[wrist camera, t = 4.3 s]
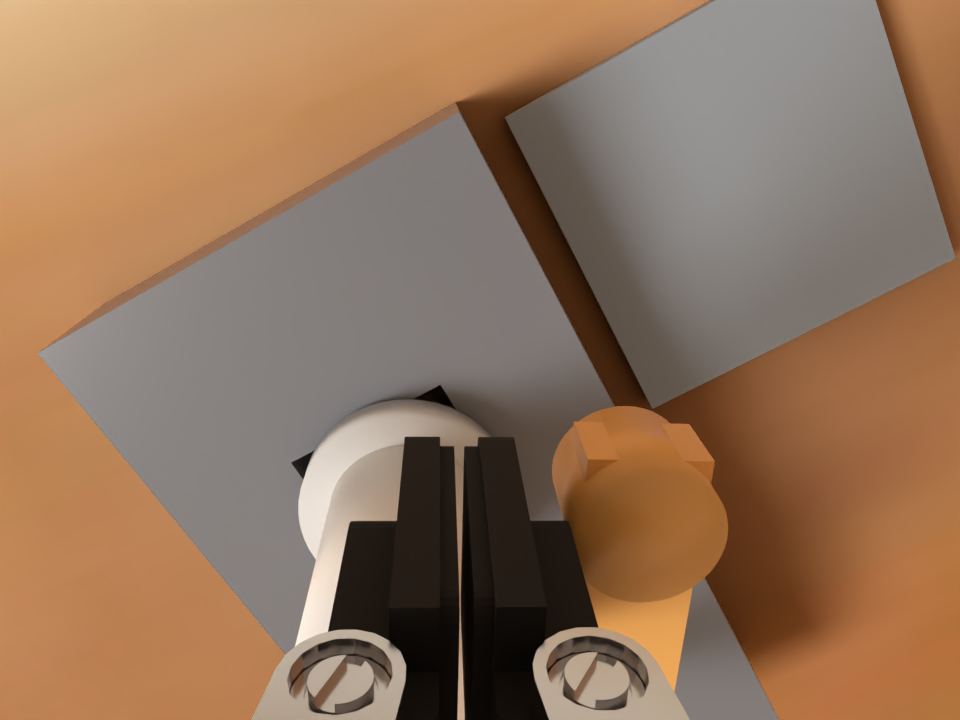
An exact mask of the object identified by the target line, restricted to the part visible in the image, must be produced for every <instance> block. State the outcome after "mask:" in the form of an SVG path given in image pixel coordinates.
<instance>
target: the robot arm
mask: <svg viewBox="0 0 960 720" xmlns="http://www.w3.org/2000/svg"><path fill="white" fill-rule="evenodd" d="M459 620H460V608H459V570H458V541H457V512H456V484H455V455H454V446H440V437H405V439H404V450H403V460H402V471H401V481H400V492H399V502H398V513H397V521H351V522H350V524H349V527H348V532H347V537H346V542H345V547H344V552H343V557H342V563H341V568H340V573H339V578H338V583H337V588H336V593H335V598H334V603H333V608H332V613H331V618H330V623H329V629H328V632H326V633H321V634H318V635H316V636H313V637H311V638H309V639H307V640H305V641H303V642H301V643H299V644H298V645H297V646H296V647H294V648H293V649H292V650H290V651H289V652H288V653H287V654H286V655H285V656H284V658H283V659H282V661H281V662H280V663H279V665H278V666H277V668H276V670H275V672H274V674H273V676H272V678H271V680H270V682H269V684H268V686H267V688H266V691H265V693H264V695H263V697H262V699H261V701H260V703H259V705H258V707H257V709H256V712H255V714H254V716H253V718H252V720H457V714H458V670H459ZM461 634H462V660H463V687H464V714H465V720H690V719H689V717H688V715H687V714H686V712H685V710H684V708H683V707H682V705H681V703H680V701H679V699H678V698H677V696H676V694H675V692H674V691H673V689H672V687H671V685H670V684H669V682H668V680H667V678H666V677H665V675H664V673H663V671H662V669H661V668H660V666H659V664H658V663H657V661H656V660H655V659H654V658H653V656H652V655H651V654H650V653H649V651H648V650H647V649H646V648H644V647H643V646H641V645H640V644H639V643H637V642H636V641H635V640H633V639H632V638H629V637H627V636H625V635H622V634H620V633H618V632H615V631H611V630H606V629H602V628H599V627H598V624H597V620H596V617H595V613H594V609H593V606H592V602H591V599H590V595H589V591H588V588H587V584H586V581H585V577H584V574H583V570H582V566H581V563H580V559H579V556H578V552H577V548H576V545H575V541H574V538H573V534H572V530H571V527H570V525H569V522H568V521H530V516H529V511H528V506H527V501H526V496H525V491H524V486H523V481H522V476H521V470H520V465H519V460H518V455H517V450H516V445H515V440H514V437H478V444H477V446H464V473H463V516H462V560H461Z"/></svg>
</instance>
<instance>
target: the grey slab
mask: <svg viewBox="0 0 960 720" xmlns="http://www.w3.org/2000/svg"><path fill="white" fill-rule="evenodd" d="M38 354H39V355H40V357H41V358H42V359H43V360H44V362H45V363H46V364H47V365H48V366H49V368H50V369H51V370H52V371H53V372H54V374H55V375H56V376H57V377H58V379H59V380H60V381H61V382H62V383H63V385H64V386H65V387H66V388H67V389H68V391H69V392H70V393H71V394H72V396H73V397H74V398H75V399H76V400H77V402H78V403H79V404H80V405H81V407H82V408H83V409H84V410H85V411H86V413H87V414H88V415H89V416H90V417H91V419H92V420H93V421H94V422H95V424H96V425H97V426H98V427H99V428H100V430H101V431H102V432H103V433H104V435H105V436H106V437H107V438H108V439H109V441H110V442H111V443H112V444H113V445H114V447H115V448H116V449H117V450H118V452H119V453H120V454H121V455H122V456H123V458H124V459H125V460H126V461H127V463H128V464H129V465H130V466H131V467H132V469H133V470H134V471H135V472H136V473H137V475H138V476H139V477H140V478H141V480H142V481H143V482H144V483H145V484H146V486H147V487H148V488H149V489H150V490H151V492H152V493H153V494H154V495H155V497H156V498H157V499H158V500H159V501H160V503H161V504H162V505H163V506H164V508H165V509H166V510H167V511H168V512H169V514H170V515H171V516H172V517H173V518H174V520H175V521H176V522H177V523H178V525H179V526H180V527H181V528H182V529H183V531H184V532H185V533H186V534H187V536H188V537H189V538H190V539H191V540H192V542H193V543H194V544H195V545H196V546H197V548H198V549H199V550H200V551H201V553H202V554H203V555H204V556H205V557H206V559H207V560H208V561H209V562H210V563H211V565H212V566H213V567H214V568H215V570H216V571H217V572H218V573H219V574H220V576H221V577H222V578H223V579H224V581H225V582H226V583H227V584H228V585H229V587H230V588H231V589H232V590H233V591H234V593H235V594H236V595H237V596H238V598H239V599H240V600H241V601H242V602H243V604H244V605H245V606H246V607H247V609H248V610H249V611H250V612H251V613H252V615H253V616H254V617H255V618H256V619H257V621H258V622H259V623H260V624H261V626H262V627H263V628H264V629H265V630H266V632H267V633H268V634H269V635H270V637H271V638H272V639H273V640H274V641H275V643H276V644H277V645H278V646H279V647H280V649H281V650H282V651H283V652H284V654H285V655H286V654H287V653H288V652H289V651H290V650H292V649H293V648H294V647H295V644H296V640H297V636H298V632H299V628H300V624H301V620H302V616H303V611H304V607H305V603H306V599H307V595H308V591H309V587H310V583H311V578H312V574H313V570H314V566H315V562H316V559H315V558H314V556H313V555H312V553H311V552H310V550H309V548H308V546H307V544H306V542H305V540H304V538H303V534H302V531H301V528H300V522H299V515H298V501H299V495H300V489H301V486H302V483H303V480H304V477H305V473H306V470H307V467H308V464H309V461H310V458H311V456H312V454H313V452H314V450H315V448H316V447H317V445H318V444H319V442H320V441H321V440H322V438H323V437H324V436H325V435H326V434H327V433H328V431H329V430H330V429H331V428H332V427H333V426H335V425H336V424H337V423H338V422H340V421H341V420H342V419H344V418H345V417H347V416H349V415H350V414H352V413H354V412H356V411H358V410H360V409H362V408H365V407H367V406H370V405H373V404H377V403H380V402H386V401H391V400H404V399H411V400H412V399H414V398H416V397H418V396H420V395H422V394H424V393H426V392H428V391H429V390H431V389H433V388H435V387H437V386H439V385H441V386H442V388H443V389H444V391H445V393H446V394H447V396H448V397H449V399H450V401H451V402H452V404H453V406H454V407H455V409H456V410H457V411H459V412H461V413H463V414H465V415H466V416H468V417H470V418H471V419H473V420H474V421H475V422H477V423H478V424H479V425H480V426H482V427H483V428H484V429H485V430H486V431H487V432H488V433H489V435H490V436H491V437H514V440H515V445H516V450H517V455H518V460H519V465H520V470H521V476H522V481H523V486H524V491H525V496H526V501H527V506H528V511H529V516H530V521H563V517H562V513H561V509H560V506H559V502H558V498H557V495H556V491H555V487H554V484H553V478H552V464H553V458H554V455H555V452H556V449H557V447H558V445H559V443H560V441H561V440H562V438H563V437H564V435H565V434H566V433H567V432H568V431H569V429H571V428H572V427H573V425H574V422H579V421H580V420H581V419H583V418H584V417H586V416H588V415H590V414H592V413H594V412H597V411H599V410H602V409H606V408H610V407H615V405H614V403H613V401H612V399H611V397H610V395H609V394H608V392H607V390H606V388H605V386H604V384H603V382H602V380H601V378H600V376H599V375H598V373H597V371H596V369H595V367H594V365H593V363H592V361H591V359H590V357H589V356H588V354H587V352H586V350H585V348H584V346H583V344H582V342H581V340H580V338H579V336H578V335H577V333H576V331H575V329H574V327H573V325H572V323H571V321H570V319H569V317H568V316H567V314H566V312H565V310H564V308H563V306H562V304H561V302H560V300H559V298H558V297H557V295H556V293H555V291H554V289H553V287H552V285H551V283H550V281H549V279H548V278H547V276H546V274H545V272H544V270H543V268H542V266H541V264H540V262H539V260H538V258H537V257H536V255H535V253H534V251H533V249H532V247H531V245H530V243H529V241H528V239H527V238H526V236H525V234H524V232H523V230H522V228H521V226H520V224H519V222H518V220H517V219H516V217H515V215H514V213H513V211H512V209H511V207H510V205H509V203H508V201H507V199H506V198H505V196H504V194H503V192H502V190H501V188H500V186H499V184H498V182H497V180H496V179H495V177H494V175H493V173H492V171H491V169H490V167H489V165H488V163H487V161H486V160H485V158H484V156H483V154H482V152H481V150H480V148H479V146H478V144H477V142H476V141H475V139H474V137H473V135H472V133H471V131H470V129H469V127H468V125H467V123H466V121H465V120H464V118H463V116H462V114H461V112H460V110H459V108H458V106H457V104H456V102H455V103H453V104H452V105H450V106H448V107H446V108H445V109H443V110H441V111H439V112H438V113H436V114H434V115H432V116H431V117H429V118H427V119H425V120H424V121H422V122H420V123H419V124H417V125H415V126H413V127H412V128H410V129H408V130H406V131H405V132H403V133H401V134H399V135H398V136H396V137H394V138H392V139H391V140H389V141H387V142H385V143H384V144H382V145H380V146H378V147H377V148H375V149H373V150H372V151H370V152H368V153H366V154H365V155H363V156H361V157H359V158H358V159H356V160H354V161H352V162H351V163H349V164H347V165H345V166H344V167H342V168H340V169H338V170H337V171H335V172H333V173H332V174H330V175H328V176H326V177H325V178H323V179H321V180H319V181H318V182H316V183H314V184H312V185H311V186H309V187H307V188H305V189H304V190H302V191H300V192H298V193H297V194H295V195H293V196H291V197H290V198H288V199H286V200H285V201H283V202H281V203H279V204H278V205H276V206H274V207H272V208H271V209H269V210H267V211H265V212H264V213H262V214H260V215H258V216H257V217H255V218H253V219H251V220H250V221H248V222H246V223H245V224H243V225H241V226H239V227H238V228H236V229H234V230H232V231H231V232H229V233H227V234H225V235H224V236H222V237H220V238H218V239H217V240H215V241H213V242H211V243H210V244H208V245H206V246H204V247H203V248H201V249H199V250H198V251H196V252H194V253H192V254H191V255H189V256H187V257H185V258H184V259H182V260H180V261H178V262H177V263H175V264H173V265H171V266H170V267H168V268H166V269H164V270H163V271H161V272H159V273H158V274H156V275H154V276H152V277H151V278H149V279H147V280H145V281H144V282H142V283H140V284H138V285H137V286H135V287H133V288H131V289H130V290H128V291H126V292H124V293H123V294H121V295H119V296H117V297H116V298H114V299H112V300H111V301H109V302H107V303H105V304H104V305H102V306H101V307H99V308H98V309H96V310H95V311H94V312H92V313H91V314H90V315H88V316H87V317H86V318H84V319H83V320H82V321H80V322H79V323H78V324H76V325H75V326H74V327H72V328H71V329H69V330H68V331H67V332H65V333H64V334H63V335H61V336H60V337H59V338H57V339H56V340H55V341H53V342H52V343H51V344H49V345H48V346H47V347H45V348H44V349H42V350H41V351H40V352H38ZM674 692H675V694H676V696H677V698H678V699H679V701H680V703H681V705H682V707H683V708H684V710H685V712H686V714H687V715H688V717H689V719H690V720H779V719H778V717H777V715H776V713H775V711H774V709H773V707H772V705H771V703H770V701H769V699H768V697H767V695H766V693H765V691H764V689H763V687H762V686H761V684H760V682H759V680H758V678H757V676H756V674H755V672H754V670H753V668H752V666H751V664H750V662H749V660H748V658H747V656H746V654H745V652H744V651H743V649H742V647H741V645H740V643H739V641H738V639H737V637H736V635H735V633H734V631H733V629H732V628H731V626H730V624H729V622H728V620H727V618H726V616H725V614H724V612H723V610H722V609H721V607H720V605H719V603H718V601H717V599H716V597H715V595H714V593H713V591H712V590H711V588H710V586H709V584H708V582H707V580H706V578H704V579H703V580H702V581H700V582H699V583H698V584H697V585H695V586H694V587H693V589H692V595H691V601H690V606H689V612H688V618H687V623H686V629H685V635H684V640H683V646H682V652H681V657H680V663H679V669H678V674H677V680H676V686H675V691H674Z"/></svg>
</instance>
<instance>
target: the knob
mask: <svg viewBox="0 0 960 720" xmlns="http://www.w3.org/2000/svg"><path fill="white" fill-rule="evenodd" d="M405 437H440V446H454V455H455V484H456V512H457V541H458V570H459V608H460V620H459V670H458V714H457V720H465V714H464V687H463V660H462V634H461V560H462V516H463V473H464V446H477V444H478V437H491V436H490V435H489V433H488V432H487V431H486V430H485V429H484V428H483V427H482V426H480V425H479V424H478V423H477V422H475V421H474V420H473V419H471V418H470V417H468V416H466V415H465V414H463V413H461V412H459V411H457V410H456V409H455V407H454V406H453V404H452V402H451V401H450V399H449V397H448V396H447V394H446V393H445V391H444V389H443V388H442V386H441V385H439V386H437V387H435V388H433V389H431V390H429V391H428V392H426V393H424V394H422V395H420V396H418V397H416V398H414V399H412V400H411V399H404V400H391V401H386V402H380V403H377V404H373V405H370V406H367V407H365V408H362V409H360V410H358V411H356V412H354V413H352V414H350V415H349V416H347V417H345V418H344V419H342V420H341V421H340V422H338V423H337V424H336V425H335V426H333V427H332V428H331V429H330V430H329V431H328V433H327V434H326V435H325V436H324V437H323V438H322V440H321V441H320V442H319V444H318V445H317V447H316V448H315V450H314V452H313V454H312V456H311V458H310V461H309V464H308V467H307V470H306V473H305V477H304V480H303V483H302V486H301V489H300V495H299V501H298V515H299V522H300V528H301V531H302V534H303V538H304V540H305V542H306V544H307V546H308V548H309V550H310V552H311V553H312V555H313V556H314V558H315V559H316V562H315V566H314V570H313V574H312V578H311V583H310V587H309V591H308V595H307V599H306V603H305V607H304V611H303V616H302V620H301V624H300V628H299V632H298V636H297V640H296V644H295V647H296V646H297V645H298V644H299V643H301V642H303V641H305V640H307V639H309V638H311V637H313V636H316V635H318V634H321V633H326V632H328V629H329V623H330V618H331V613H332V608H333V603H334V598H335V593H336V588H337V583H338V578H339V573H340V568H341V563H342V557H343V552H344V547H345V542H346V537H347V532H348V527H349V524H350V522H351V521H397V513H398V502H399V492H400V481H401V471H402V460H403V450H404V439H405Z"/></svg>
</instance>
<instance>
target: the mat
mask: <svg viewBox="0 0 960 720" xmlns="http://www.w3.org/2000/svg"><path fill="white" fill-rule="evenodd" d="M504 118H505V120H506V122H507V124H508V126H509V128H510V130H511V132H512V134H513V136H514V138H515V140H516V142H517V144H518V146H519V148H520V150H521V152H522V154H523V156H524V158H525V160H526V162H527V164H528V166H529V168H530V170H531V172H532V174H533V175H534V177H535V179H536V181H537V183H538V185H539V187H540V189H541V191H542V193H543V195H544V197H545V199H546V201H547V203H548V205H549V207H550V209H551V211H552V213H553V215H554V217H555V219H556V221H557V223H558V225H559V227H560V229H561V231H562V233H563V235H564V237H565V239H566V241H567V243H568V245H569V247H570V249H571V251H572V253H573V255H574V256H575V258H576V260H577V262H578V264H579V266H580V268H581V270H582V272H583V274H584V276H585V278H586V280H587V282H588V284H589V286H590V288H591V290H592V292H593V294H594V296H595V298H596V300H597V302H598V304H599V306H600V308H601V310H602V312H603V314H604V316H605V318H606V320H607V322H608V324H609V326H610V328H611V330H612V332H613V334H614V336H615V338H616V339H617V341H618V343H619V345H620V347H621V349H622V351H623V353H624V355H625V357H626V359H627V361H628V363H629V365H630V367H631V369H632V371H633V373H634V375H635V377H636V379H637V381H638V383H639V385H640V387H641V389H642V391H643V393H644V395H645V397H646V399H647V401H648V402H649V404H650V406H651V407H652V409H654V408H656V407H658V406H660V405H662V404H664V403H666V402H668V401H670V400H672V399H674V398H676V397H678V396H680V395H682V394H684V393H686V392H688V391H690V390H692V389H694V388H696V387H698V386H700V385H702V384H704V383H706V382H708V381H710V380H712V379H714V378H716V377H718V376H720V375H722V374H724V373H726V372H728V371H730V370H732V369H734V368H736V367H738V366H740V365H742V364H744V363H746V362H748V361H750V360H752V359H754V358H756V357H758V356H760V355H762V354H764V353H766V352H768V351H770V350H772V349H774V348H776V347H778V346H780V345H782V344H784V343H786V342H789V341H791V340H793V339H795V338H797V337H799V336H801V335H803V334H805V333H807V332H809V331H811V330H813V329H815V328H817V327H819V326H821V325H823V324H825V323H827V322H829V321H831V320H833V319H835V318H837V317H839V316H841V315H843V314H845V313H847V312H849V311H851V310H853V309H855V308H857V307H859V306H861V305H863V304H865V303H867V302H869V301H871V300H873V299H875V298H877V297H879V296H881V295H883V294H885V293H887V292H889V291H891V290H893V289H895V288H897V287H899V286H901V285H903V284H905V283H907V282H909V281H911V280H913V279H915V278H917V277H919V276H921V275H923V274H925V273H927V272H930V271H932V270H934V269H936V268H938V267H940V266H942V265H944V264H946V263H948V262H950V261H952V260H954V259H956V257H955V254H954V251H953V247H952V244H951V241H950V238H949V234H948V231H947V228H946V225H945V222H944V218H943V215H942V212H941V209H940V205H939V202H938V199H937V196H936V193H935V189H934V186H933V183H932V180H931V177H930V173H929V170H928V167H927V164H926V160H925V157H924V154H923V151H922V148H921V144H920V141H919V138H918V135H917V132H916V128H915V125H914V122H913V119H912V115H911V112H910V109H909V106H908V103H907V99H906V96H905V93H904V90H903V87H902V83H901V80H900V77H899V74H898V70H897V67H896V64H895V61H894V58H893V54H892V51H891V48H890V45H889V41H888V38H887V35H886V32H885V29H884V25H883V22H882V19H881V16H880V13H879V9H878V6H877V3H876V0H710V1H709V2H707V3H705V4H703V5H702V6H700V7H698V8H696V9H695V10H693V11H691V12H689V13H687V14H686V15H684V16H682V17H680V18H679V19H677V20H675V21H673V22H672V23H670V24H668V25H666V26H665V27H663V28H661V29H659V30H657V31H656V32H654V33H652V34H650V35H649V36H647V37H645V38H643V39H642V40H640V41H638V42H636V43H635V44H633V45H631V46H629V47H627V48H626V49H624V50H622V51H620V52H619V53H617V54H615V55H613V56H612V57H610V58H608V59H606V60H605V61H603V62H601V63H599V64H597V65H596V66H594V67H592V68H590V69H589V70H587V71H585V72H583V73H582V74H580V75H578V76H576V77H574V78H573V79H571V80H569V81H567V82H566V83H564V84H562V85H560V86H559V87H557V88H555V89H553V90H552V91H550V92H548V93H546V94H544V95H543V96H541V97H539V98H537V99H536V100H534V101H532V102H530V103H529V104H527V105H525V106H523V107H522V108H520V109H518V110H516V111H514V112H513V113H511V114H509V115H507V116H506V117H504Z"/></svg>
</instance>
